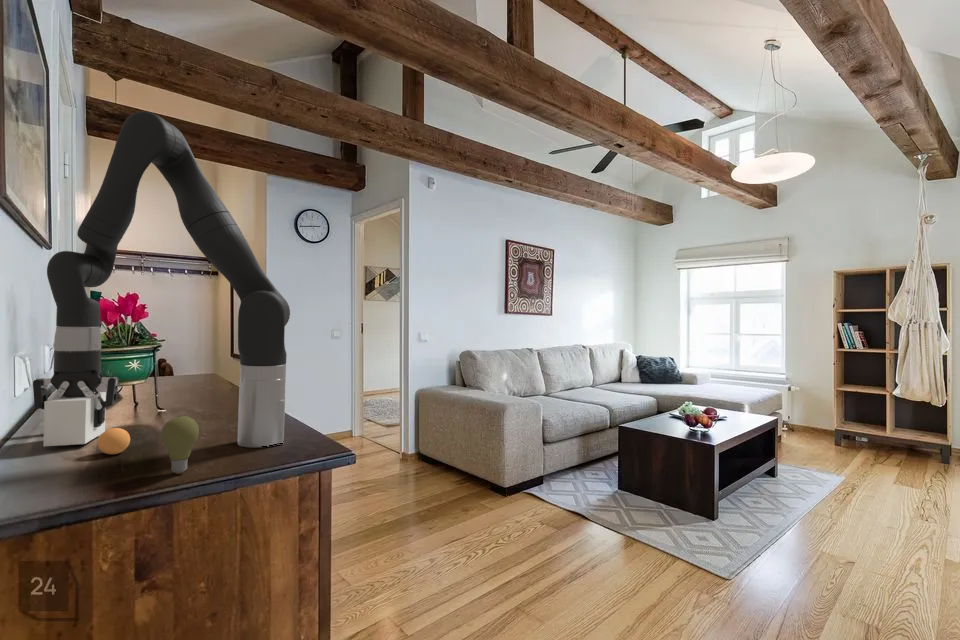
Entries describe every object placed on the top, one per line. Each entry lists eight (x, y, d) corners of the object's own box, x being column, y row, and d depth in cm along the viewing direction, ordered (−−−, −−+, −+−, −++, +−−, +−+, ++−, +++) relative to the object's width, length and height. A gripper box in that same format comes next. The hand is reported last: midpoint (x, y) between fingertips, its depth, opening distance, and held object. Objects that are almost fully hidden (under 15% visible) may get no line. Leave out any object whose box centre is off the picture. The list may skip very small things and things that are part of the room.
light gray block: (105, 431, 105) (106, 392, 105) (85, 443, 95) (86, 400, 95) (68, 433, 103) (69, 393, 103) (43, 446, 93) (44, 401, 93)
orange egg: (133, 449, 95) (134, 424, 95) (125, 456, 91) (125, 430, 91) (103, 451, 94) (103, 426, 94) (93, 458, 89) (94, 432, 89)
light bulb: (174, 467, 85) (176, 412, 85) (204, 469, 85) (206, 413, 85) (151, 477, 80) (153, 418, 80) (184, 479, 80) (186, 420, 80)
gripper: (125, 347, 105) (123, 421, 105) (43, 347, 100) (41, 425, 100) (113, 349, 98) (111, 429, 98) (24, 349, 93) (22, 434, 93)
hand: (76, 427), depth 99 cm, fingers closed on light gray block, 6 cm apart
